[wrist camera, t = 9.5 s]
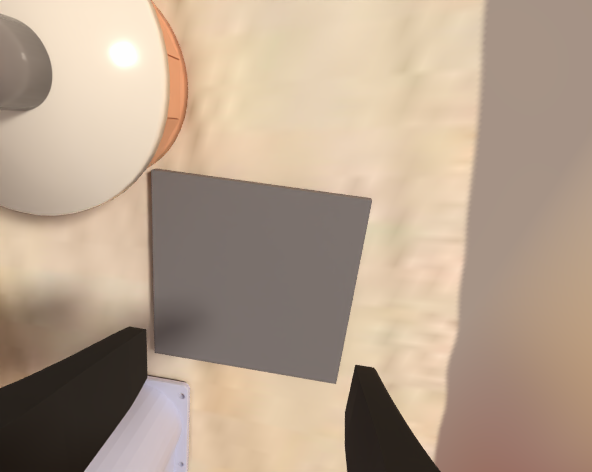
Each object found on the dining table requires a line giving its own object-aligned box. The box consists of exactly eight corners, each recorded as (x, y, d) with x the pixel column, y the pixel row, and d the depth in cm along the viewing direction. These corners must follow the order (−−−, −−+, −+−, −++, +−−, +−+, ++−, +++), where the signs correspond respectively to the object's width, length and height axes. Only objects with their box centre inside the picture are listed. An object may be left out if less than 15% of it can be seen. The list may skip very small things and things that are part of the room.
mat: (335, 377, 23) (335, 384, 23) (158, 347, 24) (154, 352, 24) (370, 198, 19) (372, 200, 19) (156, 168, 20) (151, 169, 20)
